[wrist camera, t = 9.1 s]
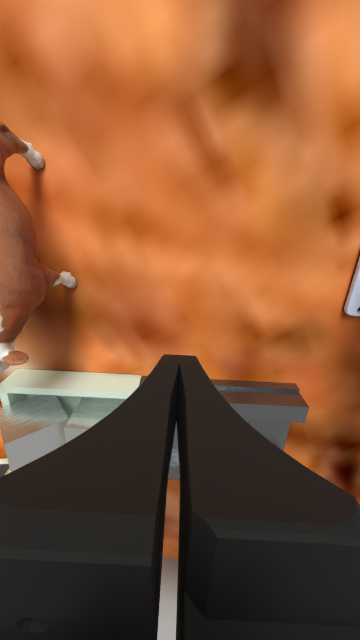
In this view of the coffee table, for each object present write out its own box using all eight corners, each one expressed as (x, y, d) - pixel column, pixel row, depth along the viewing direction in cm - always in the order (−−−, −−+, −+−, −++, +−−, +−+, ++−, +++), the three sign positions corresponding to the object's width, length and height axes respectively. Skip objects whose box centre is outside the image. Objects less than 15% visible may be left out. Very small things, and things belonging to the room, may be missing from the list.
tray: (141, 375, 21) (136, 393, 19) (142, 454, 24) (138, 477, 22) (17, 368, 21) (-3, 385, 19) (35, 448, 24) (20, 471, 22)
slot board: (295, 383, 21) (309, 404, 19) (275, 460, 24) (285, 486, 22) (142, 376, 21) (137, 395, 19) (143, 453, 24) (139, 479, 22)
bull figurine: (34, 331, 20) (-59, 399, 12) (-20, 128, 15) (-233, 30, 7) (88, 330, 20) (28, 397, 12) (51, 125, 15) (-91, 21, 7)
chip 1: (52, 390, 21) (68, 418, 19) (57, 426, 23) (72, 457, 20) (-5, 409, 19) (4, 444, 16) (5, 448, 20) (14, 486, 17)
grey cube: (131, 395, 21) (120, 432, 18) (131, 431, 23) (120, 471, 19) (85, 391, 21) (64, 427, 18) (87, 427, 23) (68, 467, 19)
